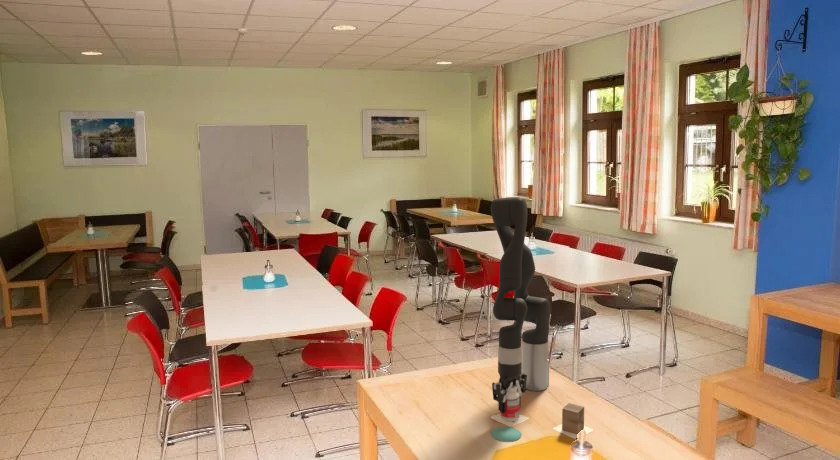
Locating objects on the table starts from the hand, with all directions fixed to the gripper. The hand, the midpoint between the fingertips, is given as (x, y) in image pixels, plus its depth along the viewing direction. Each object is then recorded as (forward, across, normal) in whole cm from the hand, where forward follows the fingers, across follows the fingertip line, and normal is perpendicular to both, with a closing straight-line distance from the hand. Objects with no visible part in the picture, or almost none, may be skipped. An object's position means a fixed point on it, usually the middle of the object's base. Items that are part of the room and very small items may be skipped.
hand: (509, 409), depth 192 cm
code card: (+3, 0, 0) cm, 3 cm away
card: (+3, -9, +18) cm, 20 cm away
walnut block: (+3, -9, +18) cm, 20 cm away
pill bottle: (+3, 0, 0) cm, 3 cm away
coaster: (+3, +9, +7) cm, 12 cm away
